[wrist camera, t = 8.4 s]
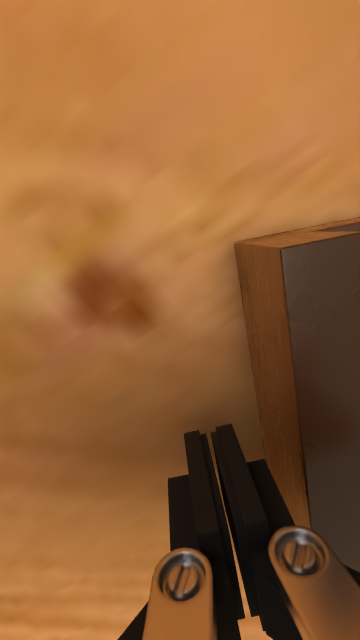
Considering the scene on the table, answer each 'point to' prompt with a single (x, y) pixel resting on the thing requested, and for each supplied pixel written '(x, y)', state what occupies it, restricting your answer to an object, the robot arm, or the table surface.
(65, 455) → the table surface
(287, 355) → the plate rack
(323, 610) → the robot arm
